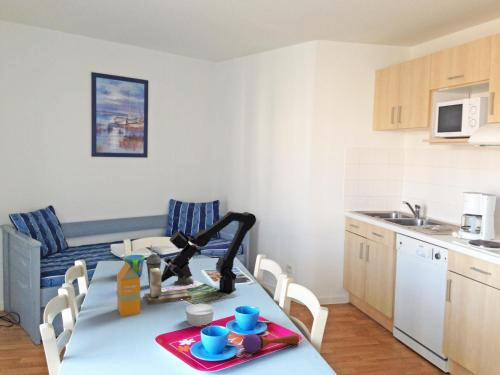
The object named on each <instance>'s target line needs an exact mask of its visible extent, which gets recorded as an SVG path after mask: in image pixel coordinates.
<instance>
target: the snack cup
mask: <svg viewBox="0 0 500 375" xmlns="http://www.w3.org/2000/svg"><path fill="white" fill-rule="evenodd" d="M145 258H146V257H145V255H143V254H130V255H129V254H128V255H125V256H124V257H123V261H124V263H125V262H127V263H128V264H129V265H130V266H131V267H132V269H133V270H134V271H135V272H136V274H137V275H138V276H139V277H140V276H142V275H143V271H144V270H143V269H144V264H145V263H144V261H145Z"/></svg>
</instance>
